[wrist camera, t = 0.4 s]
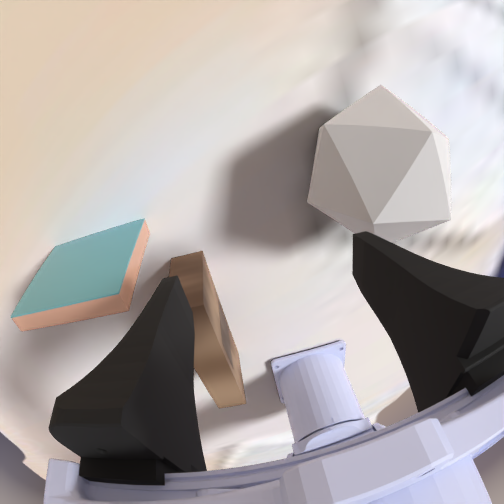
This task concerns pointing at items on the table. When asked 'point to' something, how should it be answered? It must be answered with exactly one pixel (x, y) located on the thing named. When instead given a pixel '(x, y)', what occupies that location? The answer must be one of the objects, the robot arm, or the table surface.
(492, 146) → the table surface
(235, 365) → the tapered tan wedge
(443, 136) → the die
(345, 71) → the table surface
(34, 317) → the tile
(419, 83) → the table surface
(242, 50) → the table surface
